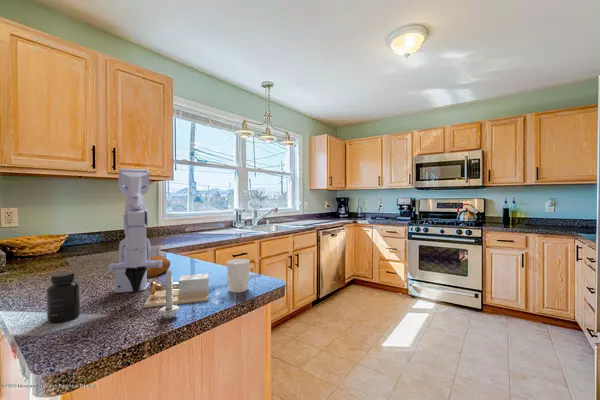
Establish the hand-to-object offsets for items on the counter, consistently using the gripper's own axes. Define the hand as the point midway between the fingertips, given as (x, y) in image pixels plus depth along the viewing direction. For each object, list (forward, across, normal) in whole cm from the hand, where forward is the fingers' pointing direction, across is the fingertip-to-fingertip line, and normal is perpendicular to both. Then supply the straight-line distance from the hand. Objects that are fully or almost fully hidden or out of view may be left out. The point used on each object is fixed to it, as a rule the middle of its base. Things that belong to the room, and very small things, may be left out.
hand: (136, 291), depth 87 cm
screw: (+3, +12, -16) cm, 20 cm away
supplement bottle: (+3, -16, -8) cm, 18 cm away
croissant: (+3, -2, +36) cm, 36 cm away
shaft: (+1, +10, 0) cm, 10 cm away
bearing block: (+3, +12, 0) cm, 13 cm away
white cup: (+3, +32, +1) cm, 32 cm away
